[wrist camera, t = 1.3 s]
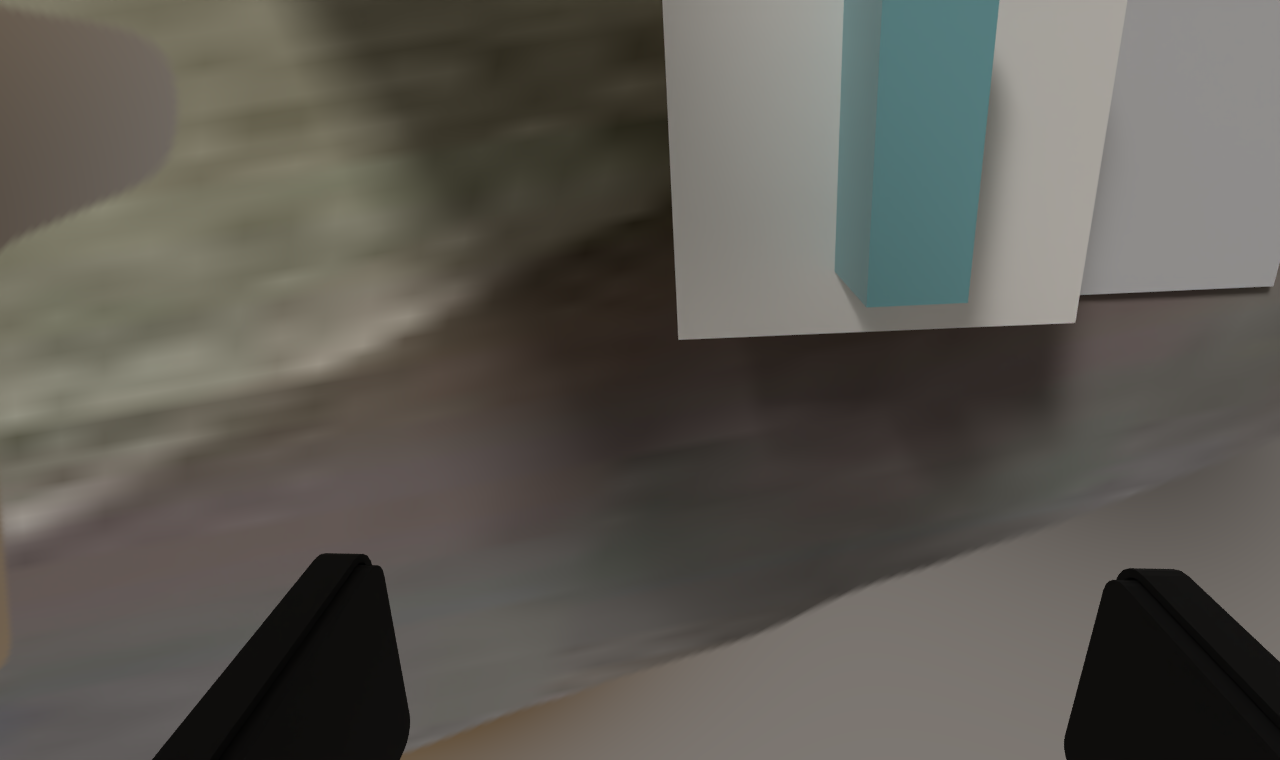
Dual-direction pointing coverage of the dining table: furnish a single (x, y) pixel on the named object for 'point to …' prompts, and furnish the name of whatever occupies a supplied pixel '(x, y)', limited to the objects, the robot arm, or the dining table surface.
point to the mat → (1190, 151)
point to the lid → (884, 161)
